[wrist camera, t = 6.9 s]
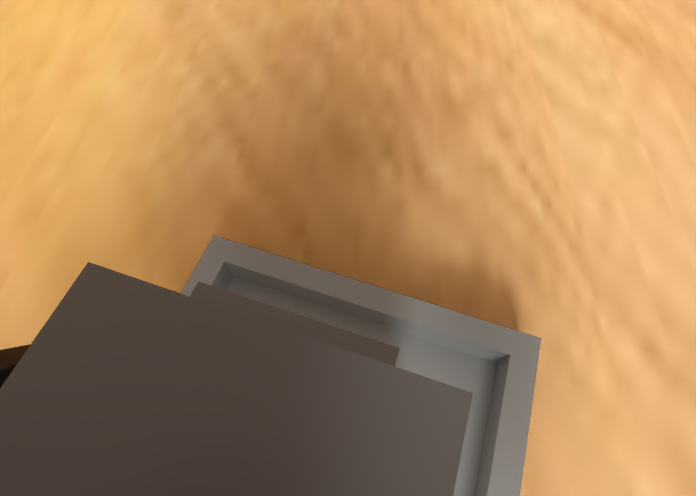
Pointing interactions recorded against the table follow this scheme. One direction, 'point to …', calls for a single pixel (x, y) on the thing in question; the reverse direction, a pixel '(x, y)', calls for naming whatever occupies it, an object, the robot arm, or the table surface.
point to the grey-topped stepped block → (217, 402)
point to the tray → (407, 349)
